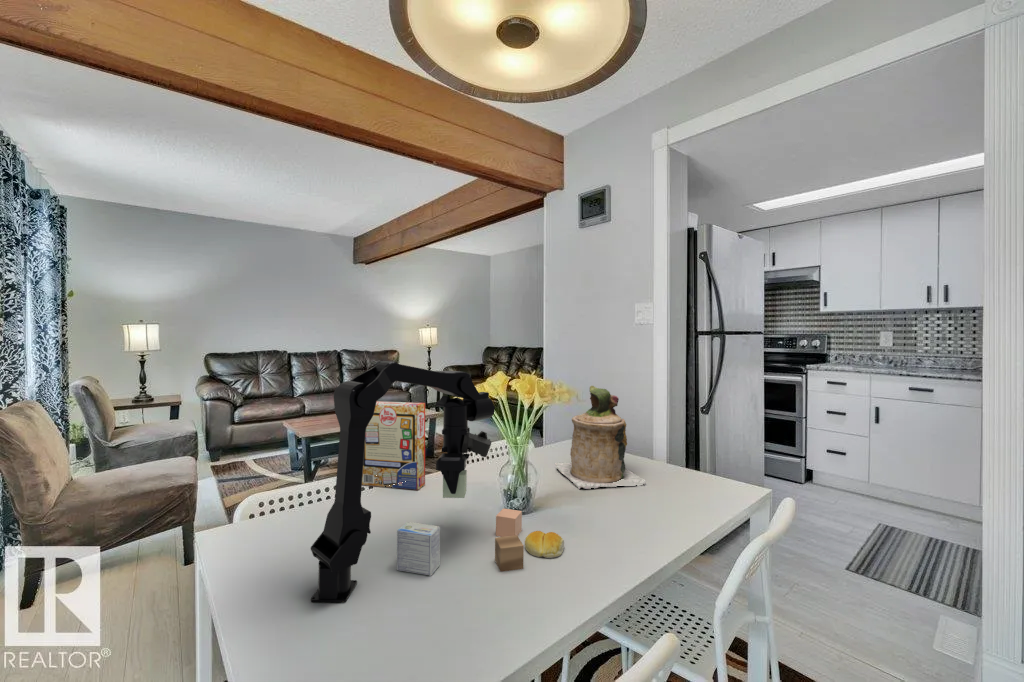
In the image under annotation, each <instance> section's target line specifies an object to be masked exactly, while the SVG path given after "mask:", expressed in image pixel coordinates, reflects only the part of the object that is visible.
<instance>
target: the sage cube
mask: <svg viewBox="0 0 1024 682" xmlns="http://www.w3.org/2000/svg"><path fill="white" fill-rule="evenodd" d="M467 472H468V471H467V469H465V470H463V471H461V472H460V474H459V479H458V485H457V490H456V494H451V493H450V490H449V488H448V486H447V483H446V481H445V479H444V477H443V476H442V498H443V499H448V498H449V499H465V497H466V495H467V485H468V484H467V477H468V476H467Z"/></svg>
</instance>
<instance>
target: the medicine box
mask: <svg viewBox="0 0 1024 682" xmlns="http://www.w3.org/2000/svg"><path fill="white" fill-rule="evenodd" d="M440 531H441V530H440V526H439V525H433V524H426V523H418V522H410V521H407V522H406V523H404V524H403V525H402V526H401V527H400V528H399V529H397V531H396V543H397V544H396V545H397V546H396V570H397V571H401V572H406V573H407V572H408V573H413V574H417V575H425V576H426V575H427V576H430V577H431V576H432V575H433V574H434V572H435V571H436V570H438V568H439V567H440V564H441V563H440V562H441V560H440V555H441V547H440V544H441V542H440V541H441V539H440V535H441V534H440V533H441V532H440Z"/></svg>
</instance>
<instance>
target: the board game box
mask: <svg viewBox="0 0 1024 682" xmlns="http://www.w3.org/2000/svg"><path fill="white" fill-rule="evenodd" d="M376 475H377V476H376ZM405 481H406V482H405ZM402 482H403V483H402ZM398 483H399V484H398ZM393 484H395V485H393ZM389 485H390V486H389ZM425 485H426V402H404V401H402V402H401V401H381V400H380V401H379V400H377V402H376V406H375V411H374V415H373V417H372V419H371V420H370V422H369V424H368V426H367V428H366V434H365V448H364V462H363V476H362V486H368V487H369V486H370V487H382V488H391V487H392V488H393V489H404V490H405V489H406V490H415V491H419V490H420V489H421V488H423V487H424V486H425ZM385 486H386V487H385ZM422 486H423V487H422ZM392 488H391V489H392Z"/></svg>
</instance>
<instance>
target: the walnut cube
mask: <svg viewBox="0 0 1024 682" xmlns="http://www.w3.org/2000/svg"><path fill="white" fill-rule="evenodd" d="M524 548H525V544H523V542H522V540H521V539H520V538H519V535H518V536H517V535H515V536H506V537H500V536H496V537H494V562H495V563H496V566H497V568H498V570H499V572H500V573H502V572H509V571H519V570H524V556H525V555H524V551H525V550H524Z"/></svg>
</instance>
